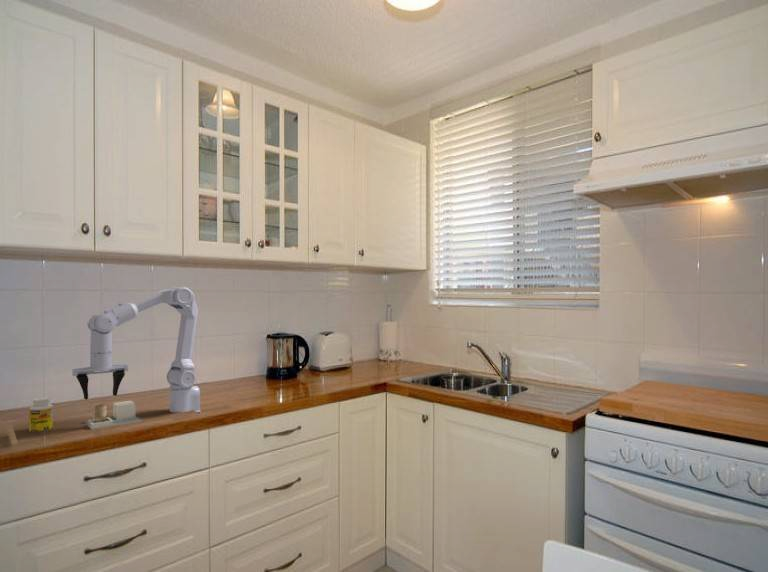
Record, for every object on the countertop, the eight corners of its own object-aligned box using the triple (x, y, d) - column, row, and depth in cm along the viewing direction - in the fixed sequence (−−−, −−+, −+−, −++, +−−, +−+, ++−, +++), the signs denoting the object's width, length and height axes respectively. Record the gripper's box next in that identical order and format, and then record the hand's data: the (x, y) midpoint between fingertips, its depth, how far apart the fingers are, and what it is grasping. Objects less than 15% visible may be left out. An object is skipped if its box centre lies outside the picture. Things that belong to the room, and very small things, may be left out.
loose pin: (104, 423, 143) (105, 404, 143) (107, 425, 140) (107, 405, 141) (93, 425, 141) (94, 405, 141) (95, 427, 138) (96, 407, 139)
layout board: (131, 416, 155) (132, 404, 155) (142, 424, 145) (142, 411, 145) (83, 424, 146) (83, 411, 146) (91, 433, 136) (91, 419, 136)
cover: (131, 413, 155) (131, 400, 155) (135, 416, 151) (135, 403, 151) (112, 416, 151) (113, 403, 151) (116, 419, 147) (116, 405, 147)
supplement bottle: (26, 436, 133) (26, 401, 133) (32, 431, 138) (32, 397, 138) (49, 434, 135) (50, 399, 136) (54, 429, 140) (55, 396, 141)
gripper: (124, 349, 149) (123, 391, 149) (70, 353, 139) (70, 398, 139) (130, 351, 144) (129, 395, 143) (74, 355, 134) (74, 402, 134)
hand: (100, 396), depth 141 cm, fingers open, 7 cm apart
